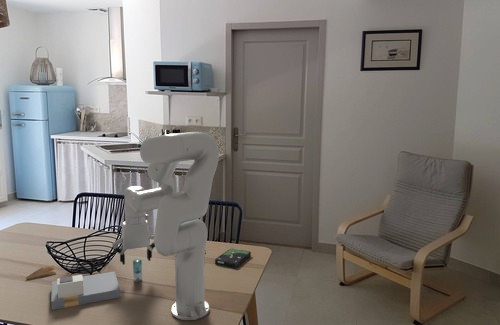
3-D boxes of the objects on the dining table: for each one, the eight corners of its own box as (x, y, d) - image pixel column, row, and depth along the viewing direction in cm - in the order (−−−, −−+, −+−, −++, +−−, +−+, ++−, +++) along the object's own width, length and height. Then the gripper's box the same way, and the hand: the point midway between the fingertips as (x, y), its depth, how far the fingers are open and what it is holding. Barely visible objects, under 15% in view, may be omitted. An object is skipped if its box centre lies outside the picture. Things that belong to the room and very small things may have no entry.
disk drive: (236, 270, 171) (251, 256, 184) (236, 263, 171) (251, 251, 184) (214, 265, 175) (230, 253, 189) (214, 259, 175) (230, 247, 188)
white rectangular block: (83, 294, 142) (82, 279, 141) (58, 298, 138) (57, 283, 138) (83, 287, 146) (82, 273, 145) (58, 291, 143) (57, 277, 142)
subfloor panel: (120, 297, 146) (120, 289, 146) (52, 310, 137) (51, 301, 136) (114, 278, 160) (114, 271, 160) (52, 289, 151) (51, 281, 151)
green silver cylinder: (142, 281, 158) (142, 261, 157) (134, 282, 157) (133, 263, 156) (141, 277, 161) (140, 258, 160) (133, 279, 160) (132, 259, 159)
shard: (25, 281, 158) (25, 277, 158) (24, 274, 164) (23, 270, 164) (56, 275, 164) (56, 271, 163) (53, 268, 170) (53, 264, 170)
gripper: (156, 213, 162) (156, 254, 165) (110, 218, 155) (111, 260, 158) (160, 219, 156) (160, 261, 159) (112, 224, 148) (114, 268, 151)
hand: (136, 261), depth 158 cm, fingers open, 9 cm apart
